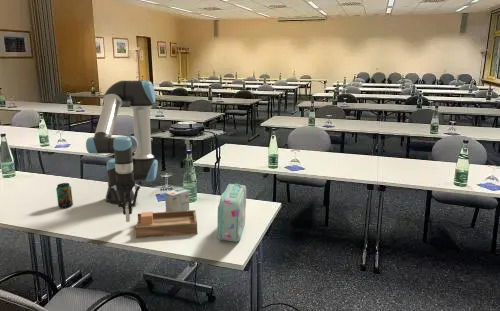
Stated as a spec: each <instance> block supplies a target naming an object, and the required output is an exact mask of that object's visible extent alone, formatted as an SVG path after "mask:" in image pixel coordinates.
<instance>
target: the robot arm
mask: <svg viewBox="0 0 500 311" xmlns="http://www.w3.org/2000/svg"><path fill="white" fill-rule="evenodd" d="M155 92H156V91H155V88H154V84H153V83H152V81H150V80H119V81H117V82H115V83H113V84H111V86H109V87H108V89H107V90H106V91H105V93H104V95H103V97H102V103H103V105H102V108H101V112H100V116H99V119H98V122H97V126H96V128H95V133H94V135H93V137H88V138H86V142H85V147H86V151H87V153H88V154H93V155H95V154H96V155H100V154H102V155H103V154H104V155H105V154H113V155H114V158H111V159H109V160H108V161H106V177H107V187H108V188H107V191H106V194H105V201H106V203H108V204H113V205H117V207H118V208H121V209H122V215H125V221H126V223H130V221H131V215H132V213H133V207H136V203H137V198H138V194H139V190H140V189H141V185H140V184H137V183H136V182H146V183H147V182H153V181H155V180H156V178H157V175H158V164H159V162H158V160H157V159H155V155H153V154H152V153H153V152H152V137H151V132H152V131H151V111H150V110H151V109H152V107H153V104H154V103H156V93H155ZM123 104H129V108H131V109H132V113H133V114H132V115H133V116H132V117H133V135H125V136H117V137H116V136H115V137H112V135H113V132H114V128H115V124H116V121H117V117H118V114H119V110H120V108H121V107H122V105H123ZM133 153H134V155H133ZM133 189H134V190H135V191H134V190H133ZM127 204H128V206H127Z"/></svg>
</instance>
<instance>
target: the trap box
mask: <svg viewBox="0 0 500 311" xmlns="http://www.w3.org/2000/svg"><path fill="white" fill-rule="evenodd" d="M196 212H197V211H196V210H195V209H191V210H190V209H189V210H187V211H173V212H166V211H160V212H153V224H146V225H141V213H137V223H136V226H135V227H134V236H135V237H134V238H135V239H146V238H159V237H161V238H162V237H169V236H171V237H172V236H174V237H175V236H187V235H197V234H198V220H197V214H196Z"/></svg>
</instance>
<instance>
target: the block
mask: <svg viewBox="0 0 500 311" xmlns="http://www.w3.org/2000/svg"><path fill="white" fill-rule="evenodd" d="M153 213H154V212H153V211H147V212H145V211H144V212H143V211H142V212H141V213H140V214H141V225H146V224H153Z"/></svg>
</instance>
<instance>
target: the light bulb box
mask: <svg viewBox="0 0 500 311" xmlns="http://www.w3.org/2000/svg"><path fill="white" fill-rule="evenodd" d="M164 203H165V212H173V211H189V210H190V191H189V189H186V188H183V187H180V188H176V189H175V188H174V189H172V190H168V191H165V192H164Z"/></svg>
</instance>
